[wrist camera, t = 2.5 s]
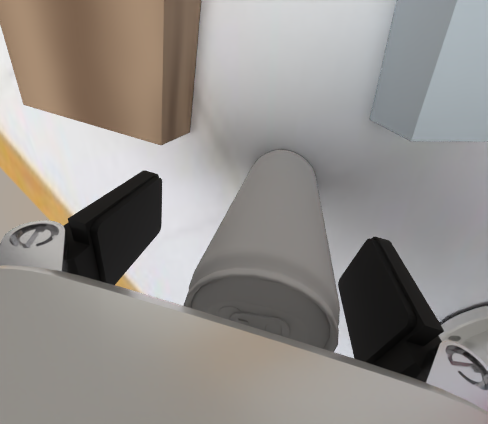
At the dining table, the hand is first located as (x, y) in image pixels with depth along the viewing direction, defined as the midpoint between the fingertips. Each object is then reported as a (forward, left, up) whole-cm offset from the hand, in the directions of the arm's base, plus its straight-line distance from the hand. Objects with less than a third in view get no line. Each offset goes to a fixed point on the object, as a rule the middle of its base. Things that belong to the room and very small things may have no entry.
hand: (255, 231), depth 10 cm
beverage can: (-1, 0, -8) cm, 8 cm away
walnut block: (+11, -6, -8) cm, 15 cm away
